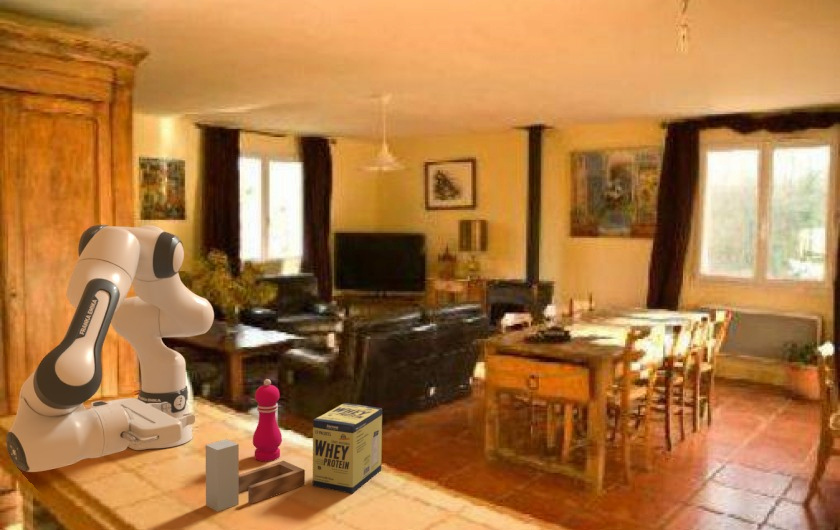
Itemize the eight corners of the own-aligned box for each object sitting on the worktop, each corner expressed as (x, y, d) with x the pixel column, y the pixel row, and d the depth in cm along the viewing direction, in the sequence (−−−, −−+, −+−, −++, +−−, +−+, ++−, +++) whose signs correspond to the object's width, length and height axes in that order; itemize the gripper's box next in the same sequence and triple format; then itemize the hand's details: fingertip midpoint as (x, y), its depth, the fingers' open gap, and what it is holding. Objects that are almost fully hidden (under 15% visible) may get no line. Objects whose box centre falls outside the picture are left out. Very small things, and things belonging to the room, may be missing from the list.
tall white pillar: (217, 511, 136) (217, 450, 135) (205, 505, 139) (205, 444, 138) (238, 504, 140) (238, 444, 139) (226, 497, 143) (226, 439, 142)
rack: (251, 503, 140) (251, 487, 140) (230, 492, 145) (230, 477, 145) (304, 484, 150) (304, 469, 150) (283, 475, 155) (283, 460, 155)
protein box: (311, 486, 149) (311, 419, 148) (344, 463, 164) (344, 401, 163) (352, 494, 145) (353, 425, 144) (382, 469, 160) (383, 407, 159)
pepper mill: (274, 463, 163) (274, 383, 161) (247, 460, 164) (247, 381, 163) (286, 453, 170) (286, 376, 168) (260, 450, 171) (260, 374, 170)
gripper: (135, 426, 114) (208, 409, 125) (88, 399, 128) (157, 385, 138) (136, 462, 115) (208, 441, 125) (89, 431, 129) (157, 415, 139)
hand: (181, 412), depth 132 cm, fingers open, 8 cm apart
